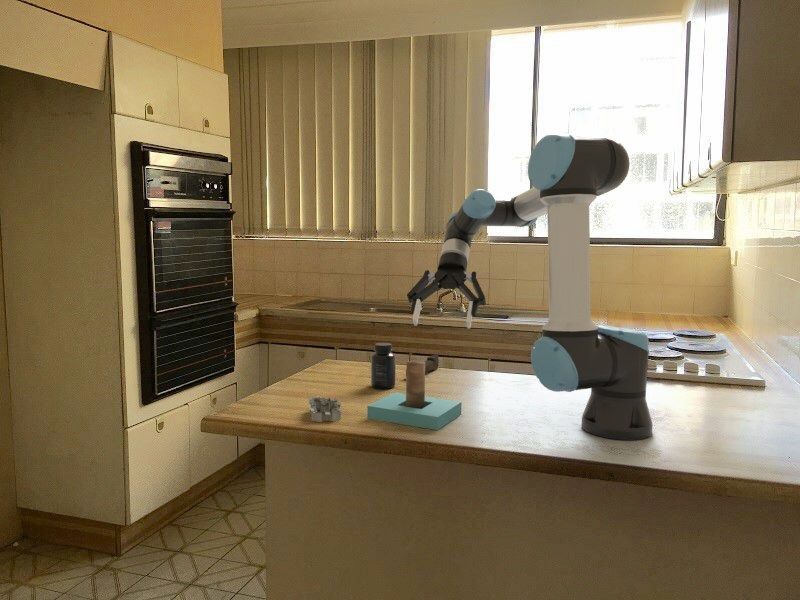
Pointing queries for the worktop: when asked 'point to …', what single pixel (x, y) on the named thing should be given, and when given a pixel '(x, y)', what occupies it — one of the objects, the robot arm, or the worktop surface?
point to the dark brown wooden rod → (431, 363)
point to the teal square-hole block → (414, 411)
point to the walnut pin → (415, 384)
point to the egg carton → (324, 409)
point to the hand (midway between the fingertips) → (441, 324)
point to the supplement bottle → (383, 366)
